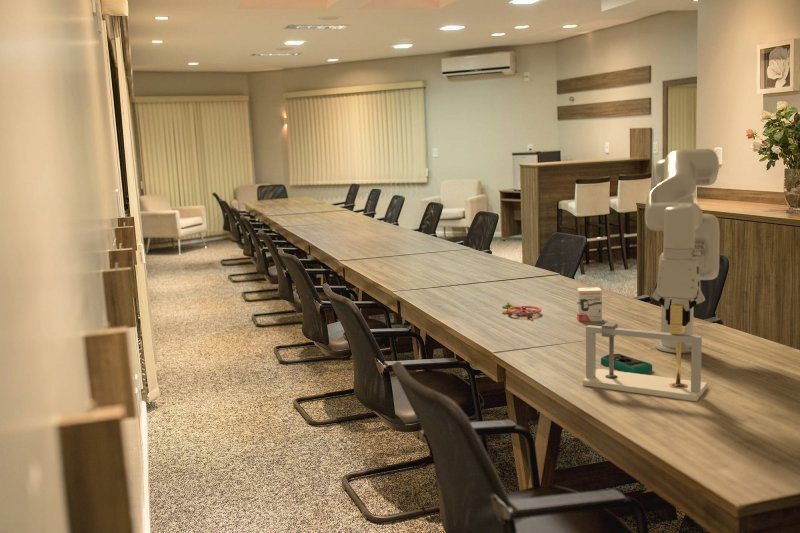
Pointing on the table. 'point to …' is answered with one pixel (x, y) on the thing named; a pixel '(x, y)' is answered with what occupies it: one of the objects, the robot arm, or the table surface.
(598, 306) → the ink box
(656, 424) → the table surface
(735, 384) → the table surface
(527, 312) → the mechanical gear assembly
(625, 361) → the digital multimeter
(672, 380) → the white rack frame
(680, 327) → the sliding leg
